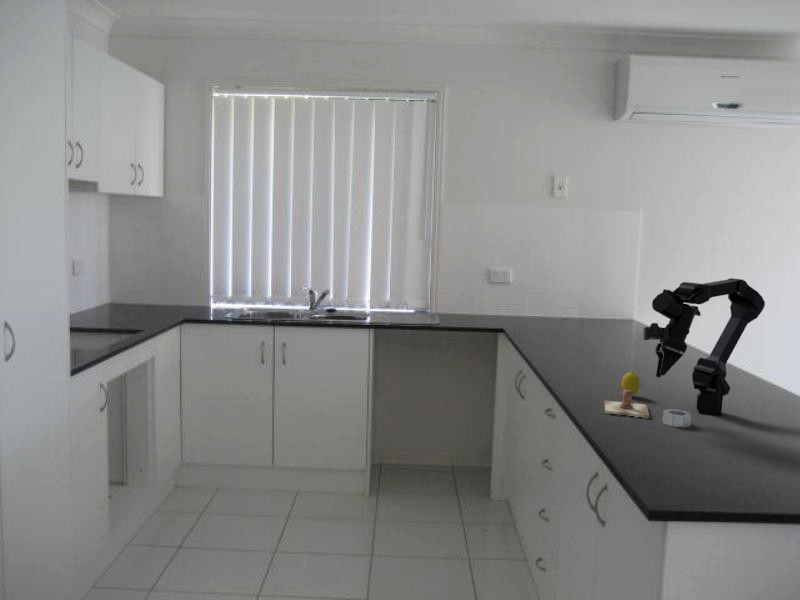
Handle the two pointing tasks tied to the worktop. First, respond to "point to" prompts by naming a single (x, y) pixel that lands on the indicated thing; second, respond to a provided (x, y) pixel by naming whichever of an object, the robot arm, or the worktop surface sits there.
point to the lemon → (631, 382)
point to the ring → (676, 418)
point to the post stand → (627, 407)
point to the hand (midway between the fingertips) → (659, 376)
